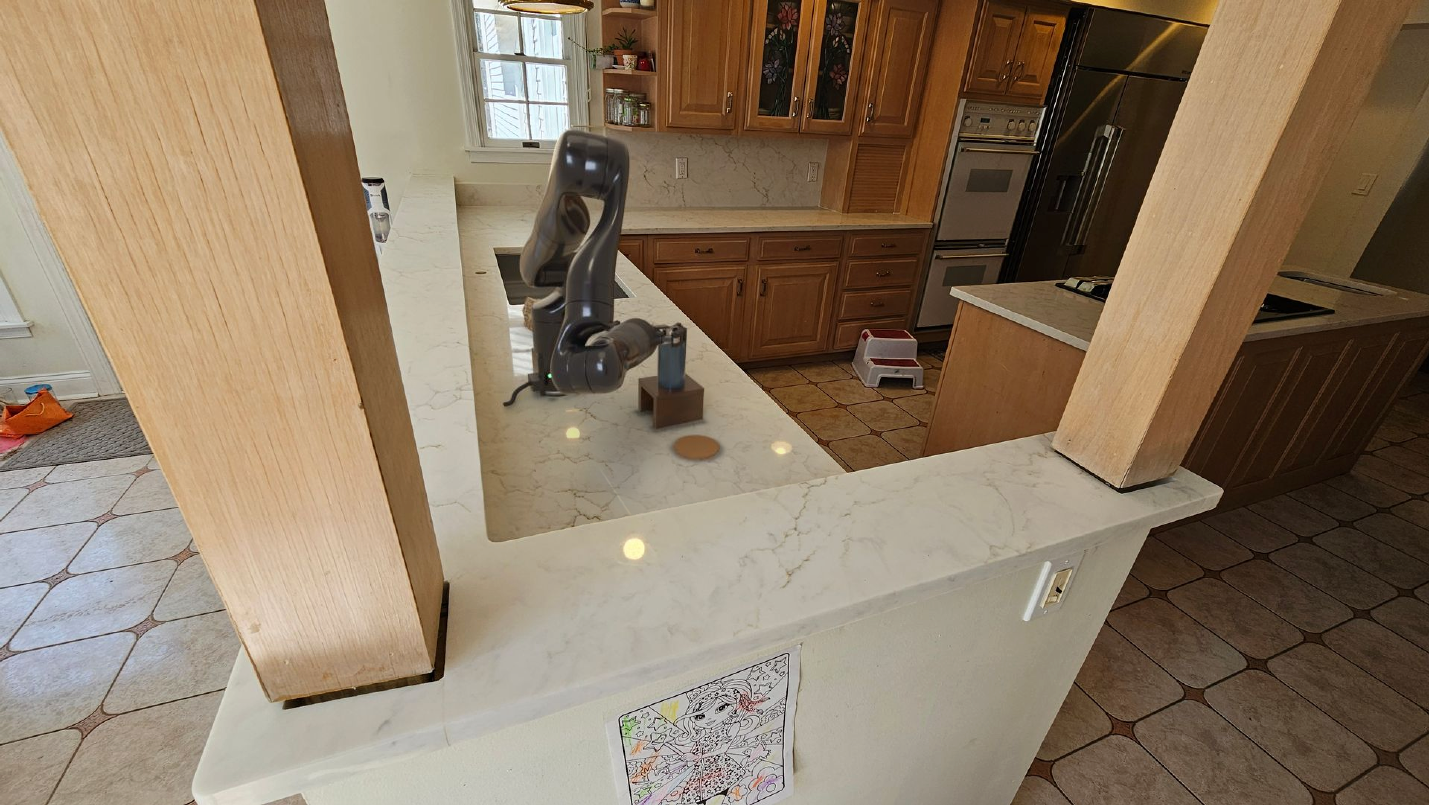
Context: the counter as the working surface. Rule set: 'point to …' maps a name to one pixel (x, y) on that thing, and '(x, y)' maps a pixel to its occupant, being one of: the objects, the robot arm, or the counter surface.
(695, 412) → the shelf
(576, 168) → the robot arm
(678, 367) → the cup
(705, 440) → the coaster
